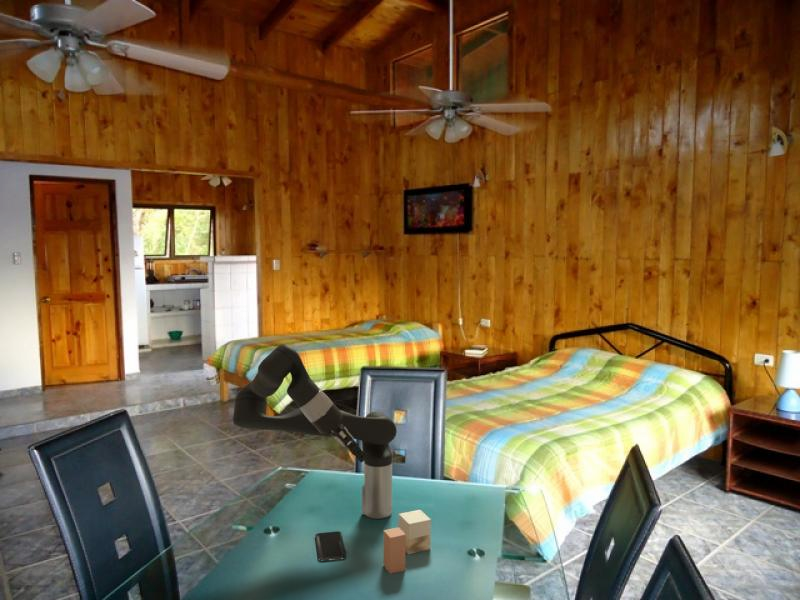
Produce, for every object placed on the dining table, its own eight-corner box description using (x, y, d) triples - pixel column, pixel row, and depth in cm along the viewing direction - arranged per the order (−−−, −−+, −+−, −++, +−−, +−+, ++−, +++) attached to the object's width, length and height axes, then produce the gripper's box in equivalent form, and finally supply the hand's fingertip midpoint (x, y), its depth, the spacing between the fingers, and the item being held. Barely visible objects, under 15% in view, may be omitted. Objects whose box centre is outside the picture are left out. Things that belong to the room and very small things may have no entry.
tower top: (408, 539, 164) (409, 524, 163) (398, 528, 170) (398, 513, 170) (430, 534, 166) (430, 519, 166) (419, 524, 173) (419, 509, 172)
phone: (318, 559, 159) (315, 533, 174) (318, 563, 159) (315, 536, 174) (347, 556, 161) (341, 530, 176) (347, 560, 161) (341, 534, 176)
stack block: (390, 573, 154) (390, 537, 153) (383, 565, 158) (383, 530, 157) (405, 569, 156) (405, 534, 155) (398, 561, 160) (398, 527, 159)
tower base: (408, 554, 164) (408, 539, 164) (398, 543, 170) (398, 528, 170) (430, 549, 167) (430, 534, 166) (419, 538, 173) (419, 524, 173)
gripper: (306, 417, 155) (344, 460, 158) (314, 425, 141) (355, 473, 144) (327, 398, 157) (364, 441, 159) (337, 404, 143) (377, 451, 146)
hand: (360, 456), depth 152 cm, fingers open, 8 cm apart
